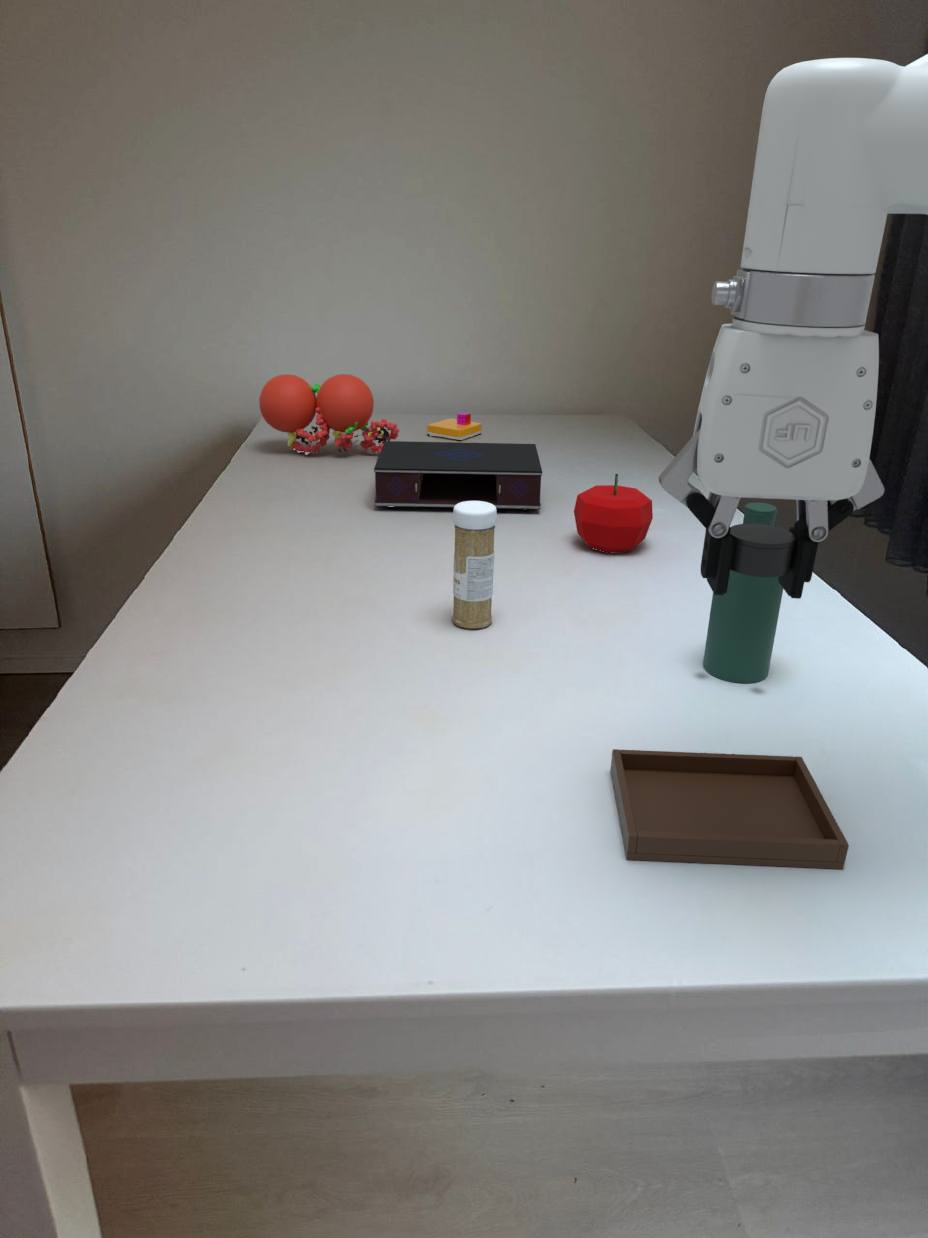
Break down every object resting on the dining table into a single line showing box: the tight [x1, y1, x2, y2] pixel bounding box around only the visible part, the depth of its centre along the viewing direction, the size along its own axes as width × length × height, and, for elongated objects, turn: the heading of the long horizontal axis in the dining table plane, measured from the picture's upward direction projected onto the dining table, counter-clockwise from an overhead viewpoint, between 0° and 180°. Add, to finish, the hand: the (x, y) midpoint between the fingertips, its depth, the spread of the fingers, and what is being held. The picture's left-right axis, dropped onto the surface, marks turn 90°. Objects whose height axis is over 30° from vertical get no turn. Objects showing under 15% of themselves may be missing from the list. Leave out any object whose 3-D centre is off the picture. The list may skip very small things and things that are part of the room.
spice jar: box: [451, 501, 498, 629], centre depth 98 cm, size 5×5×13 cm
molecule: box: [258, 373, 400, 455], centre depth 164 cm, size 25×11×15 cm, turn 89°
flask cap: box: [730, 523, 796, 578], centre depth 60 cm, size 4×4×2 cm
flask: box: [702, 502, 784, 684], centre depth 88 cm, size 6×6×17 cm
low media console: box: [373, 440, 543, 510], centre depth 143 cm, size 17×25×7 cm
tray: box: [609, 748, 850, 870], centre depth 69 cm, size 15×11×2 cm
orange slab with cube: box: [426, 412, 483, 438], centre depth 183 cm, size 8×8×4 cm
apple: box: [573, 473, 654, 554], centre depth 122 cm, size 11×11×10 cm
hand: (752, 586), depth 61 cm, fingers closed on flask cap, 4 cm apart
